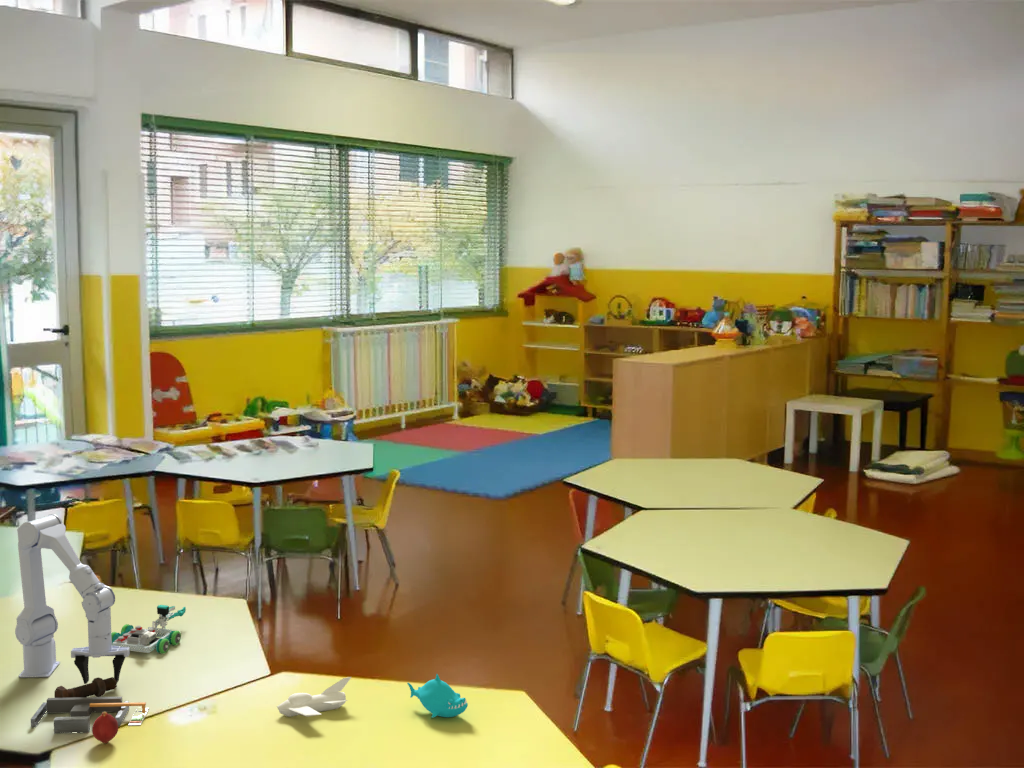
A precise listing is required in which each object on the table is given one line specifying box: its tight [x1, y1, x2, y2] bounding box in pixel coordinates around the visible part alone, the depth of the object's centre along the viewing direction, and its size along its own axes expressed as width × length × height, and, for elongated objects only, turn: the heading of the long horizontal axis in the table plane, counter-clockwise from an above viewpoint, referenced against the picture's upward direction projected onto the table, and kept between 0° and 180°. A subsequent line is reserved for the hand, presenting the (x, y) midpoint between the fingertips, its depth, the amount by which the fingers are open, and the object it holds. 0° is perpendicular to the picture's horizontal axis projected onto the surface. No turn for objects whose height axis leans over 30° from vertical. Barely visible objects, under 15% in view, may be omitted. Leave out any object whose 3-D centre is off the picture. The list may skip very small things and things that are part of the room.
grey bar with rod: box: [46, 696, 147, 717], centre depth 262 cm, size 6×24×4 cm, turn 96°
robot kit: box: [111, 604, 187, 655], centre depth 310 cm, size 19×25×9 cm
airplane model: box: [276, 676, 352, 718], centre depth 268 cm, size 20×20×8 cm
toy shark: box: [407, 673, 469, 718], centre depth 268 cm, size 10×18×11 cm, turn 62°
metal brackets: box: [30, 700, 150, 734], centre depth 259 cm, size 12×26×4 cm, turn 96°
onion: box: [91, 712, 119, 745], centre depth 248 cm, size 6×6×8 cm
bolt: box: [53, 676, 118, 698], centre depth 271 cm, size 6×5×15 cm
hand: (101, 681), depth 278 cm, fingers open, 7 cm apart
